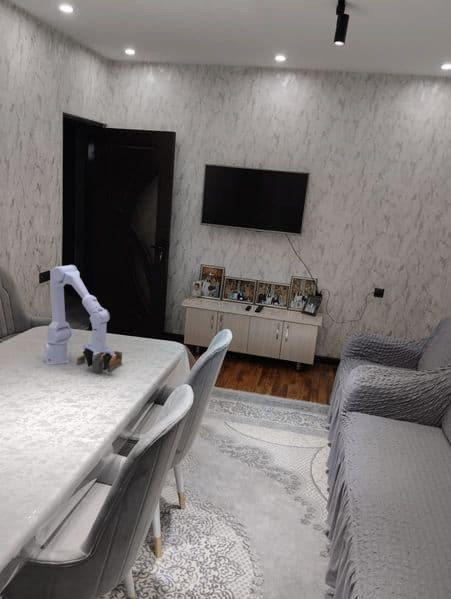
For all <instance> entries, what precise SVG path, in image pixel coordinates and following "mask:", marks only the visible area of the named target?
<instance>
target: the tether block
mask: <svg viewBox="0 0 451 599" xmlns="http://www.w3.org/2000/svg"><path fill="white" fill-rule="evenodd" d="M103 355H105V354H103ZM103 355H101V359H98V358H96V359H94V360H93V364H92V366H91V372H92V374H97V375H99V374H101V373H103V372H104V369H103V365H104V362H103V357H102V356H103ZM115 360H116V355H115V354H114V355H113V356H112V358H111V360H110V362H109V364H110V363H112V362H114V361H115Z"/></svg>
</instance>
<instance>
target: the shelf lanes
mask: <svg viewBox="0 0 451 599" xmlns="http://www.w3.org/2000/svg"><path fill="white" fill-rule="evenodd" d="M103 354H105V353H101V355H103ZM115 355H116V360H115V361H114V362H112V363H110V364H109V365H108V368H107V372H109V373H110V372H112V371H114V370H115V369H117V368H119V367H121V366H122V363H123V362H122V361H123V351H118V350H115ZM98 359H101V357H100V358H98ZM76 364H77V365H79V366H80V365H82V364H85V355H84V354H83V355H79V357H77V358H76ZM92 364H93V361H92Z"/></svg>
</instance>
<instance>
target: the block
mask: <svg viewBox="0 0 451 599" xmlns="http://www.w3.org/2000/svg"><path fill="white" fill-rule="evenodd" d="M100 357H101V352H94V353H93V360H94V359H96V358H100ZM84 364H86V365H88V364H87V360H86V357H85V362H84Z"/></svg>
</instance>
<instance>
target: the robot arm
mask: <svg viewBox="0 0 451 599" xmlns="http://www.w3.org/2000/svg"><path fill="white" fill-rule="evenodd" d="M80 274H81V273H80V271H79V270H78V268H77V266H76V265H74V264H69V265H60V266H55V267H53V268H52V269H51V270H50V281H49V290H50V291H49V292H50V303H51V305H50V306H51V322H50V324H49V325H48V326H47V332H46V339H47V341H48V342H45V343H44V344H45V345H44V360H45V363H46V365H49V366H50V365H58V364H59V365H60V364H69V363H70V361H69V359H68V342H69V339H71V337H72V330H71V327H70V326H71V325H70V323H69V322H68V321H66V310H65V307H66V306H65V289H64V287H65V285H71V286H72V288H74V290H75V291H76V292H77V294H78V295H79V296H80V298H81V299H82V301H81V303H82V306H83V307H84V308H85V310H86V311H87V313H88V314H89V316H90V317H89V321H90V323H91V327H92V334H91V344H88V343H87V344H86V343H84V344H82V350H83V352H82V354H83V355H85V357H86V360H87V364H86V365H87V367H92V361H93V353H94V352H101V353H105V355H103V356H102V357H103V362H104V365H103V371H107V370H108V365H109V362H110V360H111V358H112V356H113V355H114V354H115V351H116V350H115V349H112V348H110V347H107V346H106V344H107V342H106V341H107V322H109V320H110V318H111V316H110V312H109V310H107V309H106V308H104V307H102V305H100V303H99V302H98V300H97V299H98V298H97V297H96V296H95V295H92V294H90V293H89V291H88V289H87V286H85V284H84V282H83V280H82V278H81V277H80Z"/></svg>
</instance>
